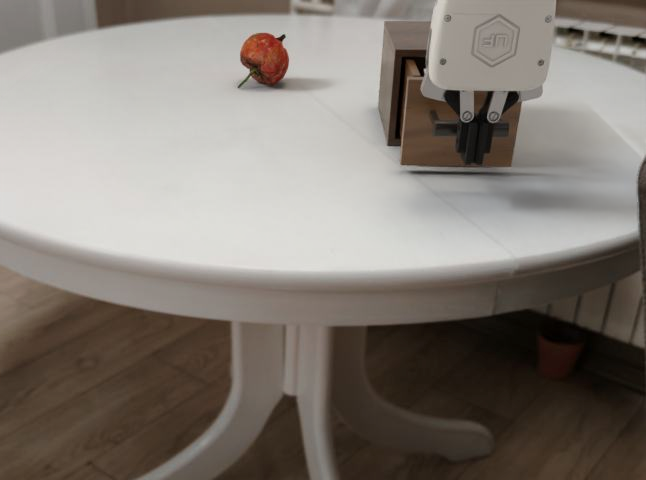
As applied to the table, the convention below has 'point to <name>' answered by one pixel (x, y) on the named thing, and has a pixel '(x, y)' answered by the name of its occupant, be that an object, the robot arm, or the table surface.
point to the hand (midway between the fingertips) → (470, 159)
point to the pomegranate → (264, 58)
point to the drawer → (444, 125)
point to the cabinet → (398, 68)
